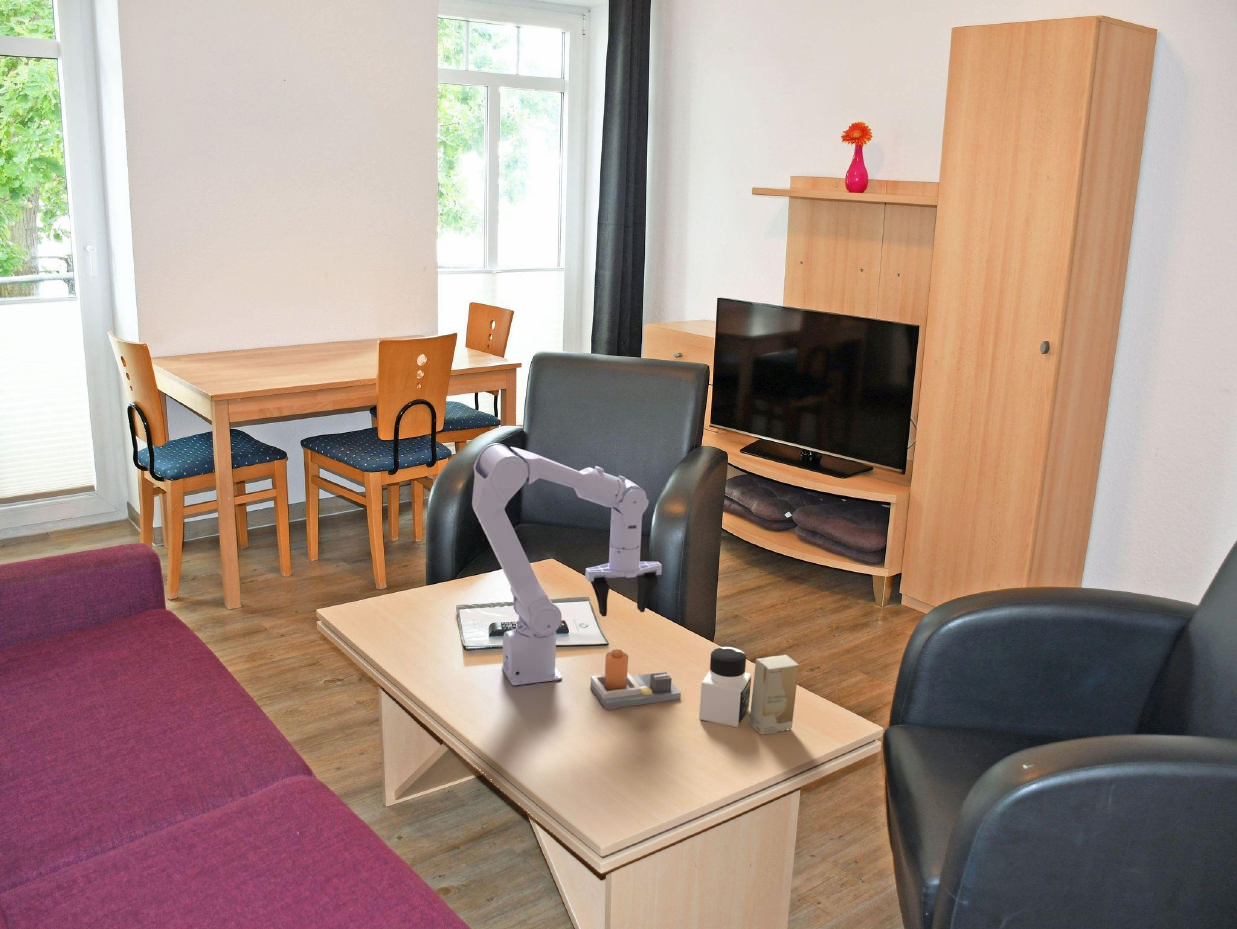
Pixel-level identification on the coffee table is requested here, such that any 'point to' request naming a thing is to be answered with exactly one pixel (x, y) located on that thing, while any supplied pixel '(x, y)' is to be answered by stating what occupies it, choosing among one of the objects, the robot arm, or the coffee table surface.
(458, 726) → the coffee table surface
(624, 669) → the orange bottle
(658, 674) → the block
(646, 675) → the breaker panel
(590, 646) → the coffee table surface
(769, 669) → the skincare box
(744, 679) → the medicine bottle
